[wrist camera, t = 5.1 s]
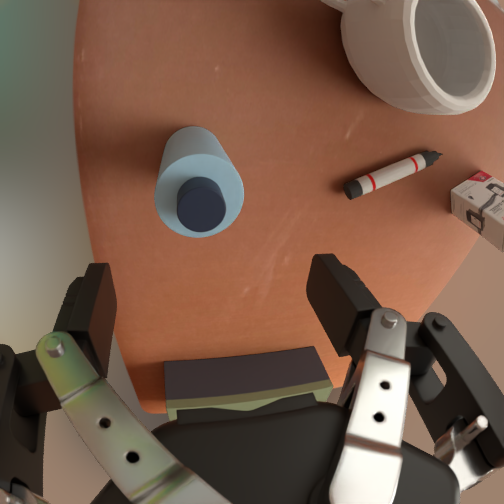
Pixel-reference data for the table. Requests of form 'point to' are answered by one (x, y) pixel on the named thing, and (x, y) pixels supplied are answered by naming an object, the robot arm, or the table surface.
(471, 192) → the ink box
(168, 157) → the water bottle
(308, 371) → the lidded gift box
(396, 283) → the table surface
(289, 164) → the table surface
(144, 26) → the table surface
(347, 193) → the marker
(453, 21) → the mug
